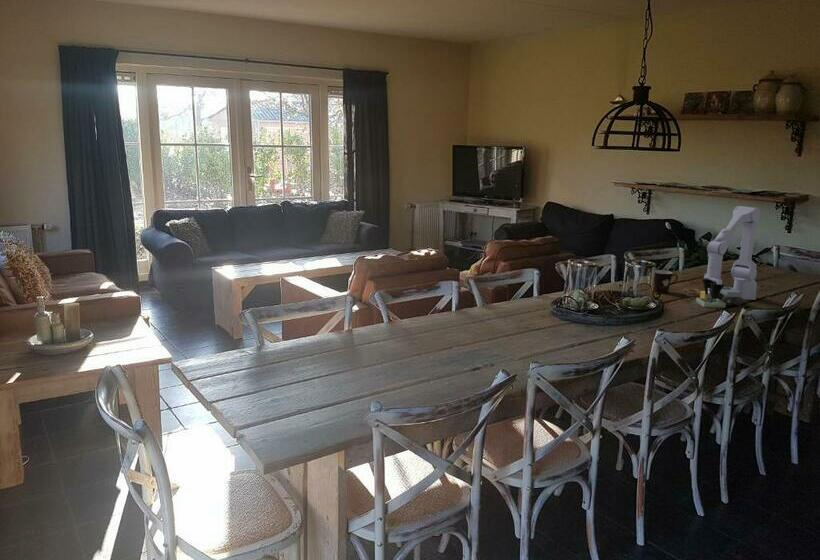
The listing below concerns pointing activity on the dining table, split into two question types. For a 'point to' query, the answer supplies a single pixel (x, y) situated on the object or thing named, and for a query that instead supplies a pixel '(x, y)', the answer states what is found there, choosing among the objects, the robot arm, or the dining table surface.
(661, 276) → the coffee mug
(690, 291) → the pin socket
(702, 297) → the block
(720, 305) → the tray
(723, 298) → the trolley
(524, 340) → the dining table surface
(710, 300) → the stop pin
